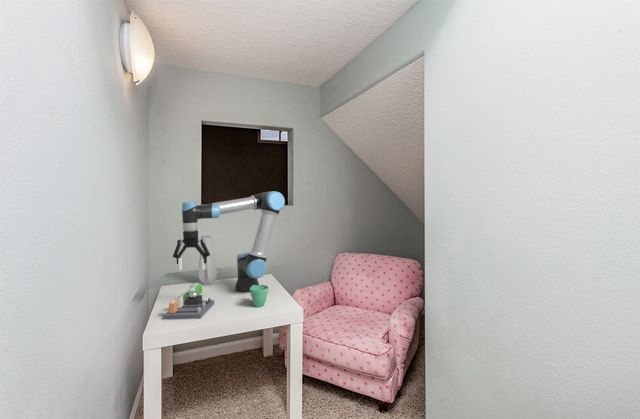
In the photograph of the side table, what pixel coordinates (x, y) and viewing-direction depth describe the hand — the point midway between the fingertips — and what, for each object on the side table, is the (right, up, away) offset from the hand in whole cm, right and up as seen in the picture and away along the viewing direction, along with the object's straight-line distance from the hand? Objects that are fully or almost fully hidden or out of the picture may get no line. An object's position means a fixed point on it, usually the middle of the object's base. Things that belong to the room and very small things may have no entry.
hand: (192, 269), depth 168 cm
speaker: (-5, -20, +14) cm, 25 cm away
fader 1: (-4, -19, -13) cm, 23 cm away
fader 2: (-4, -18, -6) cm, 20 cm away
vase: (-7, -19, +46) cm, 50 cm away
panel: (+2, -21, -6) cm, 22 cm away
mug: (+36, -20, +2) cm, 41 cm away
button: (+1, -16, +1) cm, 16 cm away
